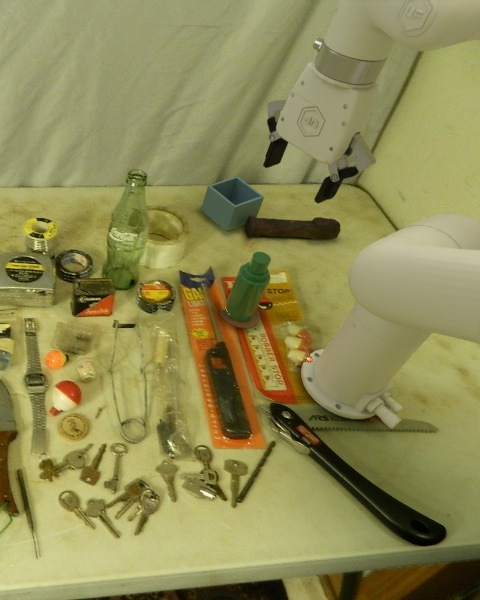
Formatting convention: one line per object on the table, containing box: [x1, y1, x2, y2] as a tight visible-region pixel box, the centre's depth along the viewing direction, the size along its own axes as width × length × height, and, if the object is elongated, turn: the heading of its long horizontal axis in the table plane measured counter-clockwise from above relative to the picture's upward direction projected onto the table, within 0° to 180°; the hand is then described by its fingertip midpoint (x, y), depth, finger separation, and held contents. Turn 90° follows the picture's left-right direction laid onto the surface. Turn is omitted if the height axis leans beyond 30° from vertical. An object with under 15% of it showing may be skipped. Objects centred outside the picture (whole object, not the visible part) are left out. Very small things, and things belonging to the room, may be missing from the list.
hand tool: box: [244, 215, 341, 241], centre depth 105 cm, size 19×4×5 cm, turn 88°
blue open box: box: [200, 175, 265, 233], centre depth 108 cm, size 8×8×6 cm
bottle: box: [223, 251, 272, 322], centre depth 87 cm, size 5×5×12 cm
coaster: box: [218, 308, 261, 330], centre depth 91 cm, size 7×7×1 cm
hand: (295, 181), depth 77 cm, fingers open, 9 cm apart
